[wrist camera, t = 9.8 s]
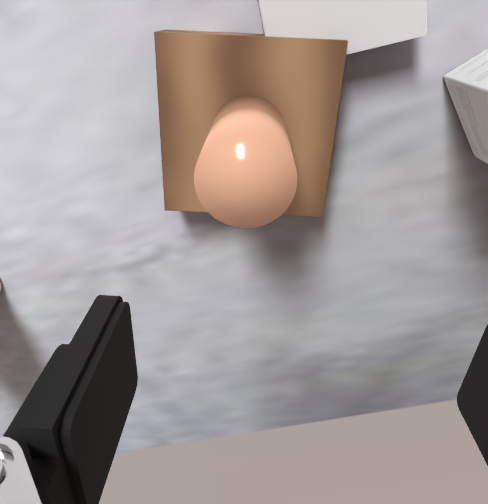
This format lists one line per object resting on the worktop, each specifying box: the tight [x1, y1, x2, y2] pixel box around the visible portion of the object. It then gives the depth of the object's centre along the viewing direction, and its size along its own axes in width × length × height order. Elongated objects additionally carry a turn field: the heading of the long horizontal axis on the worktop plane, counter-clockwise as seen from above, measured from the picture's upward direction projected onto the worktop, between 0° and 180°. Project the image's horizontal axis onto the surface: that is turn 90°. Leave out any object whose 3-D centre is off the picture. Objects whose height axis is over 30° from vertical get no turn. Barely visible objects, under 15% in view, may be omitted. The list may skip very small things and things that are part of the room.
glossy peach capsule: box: [194, 95, 297, 228], centre depth 25 cm, size 5×5×9 cm
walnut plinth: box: [154, 30, 348, 217], centre depth 31 cm, size 12×12×4 cm
